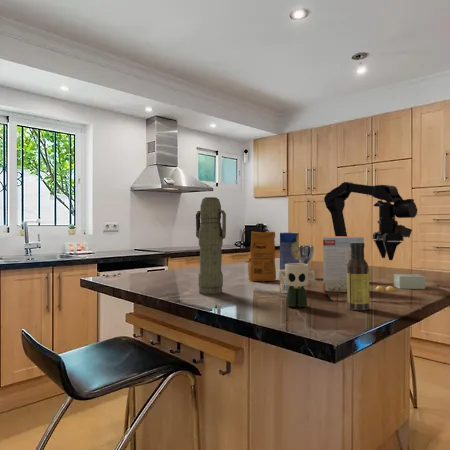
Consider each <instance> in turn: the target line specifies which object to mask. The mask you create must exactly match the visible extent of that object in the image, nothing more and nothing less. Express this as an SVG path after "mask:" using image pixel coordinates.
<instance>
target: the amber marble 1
mask: <svg viewBox="0 0 450 450" xmlns="http://www.w3.org/2000/svg"><path fill="white" fill-rule="evenodd" d="M374 290H375V291H379V292H384V291H385V289H384V286H382V285H377V286H376V287H375V289H374Z"/></svg>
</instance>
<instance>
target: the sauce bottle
mask: <svg viewBox="0 0 450 450" xmlns="http://www.w3.org/2000/svg"><path fill="white" fill-rule="evenodd" d="M350 247H351V259H350V260H349V262H348V264H347V292H346V293H347V294H346V295H347V296H346V297H347V308H348V309H349V310H351V311H357V312H358V311H368V310H369V309H370V303H371V302H370V269H369V268H370V267H369V264H368V261H366V259H365V247H366V245H365V242H364V243H363V242H351V243H350Z"/></svg>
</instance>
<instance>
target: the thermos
mask: <svg viewBox="0 0 450 450" xmlns="http://www.w3.org/2000/svg"><path fill="white" fill-rule="evenodd" d="M221 219H222V223H221ZM226 231H227V213H226V211H225V210H223V209H222V205H221V202H220V198H218V197H216V196H214V197H210V196H209V197H205V196H204V198H202V200H201V203H200V210H198V211H196V214H195V237H196V238H197V239H198V246H199V273H198V294H199V295H205V296H210V295H211V296H216V295H217V296H218V295H221V294H223V287H224V284H223V283H224V274H223V271H222V247H223V243H224V242H223V240H224V239H226V236H227V232H226Z"/></svg>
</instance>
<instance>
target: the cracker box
mask: <svg viewBox="0 0 450 450" xmlns="http://www.w3.org/2000/svg"><path fill="white" fill-rule="evenodd" d="M351 242H363V243H364V244H365V238H364V236H347V237H344V236H335V235H334V236H332V235H331V236H323V237H322V247H323V248H322V274H323V275H322V276H323V277H322V281H323V282H322V283H323V284H322V287H323V288H322V289H323V291H322V292H323V295H326V296H327V295H329V294H328V293H327V292H341V293H342V292H343V293H344V292H345V293H347V264H348V262H349V260H350V259H351V247H350V243H351Z"/></svg>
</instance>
